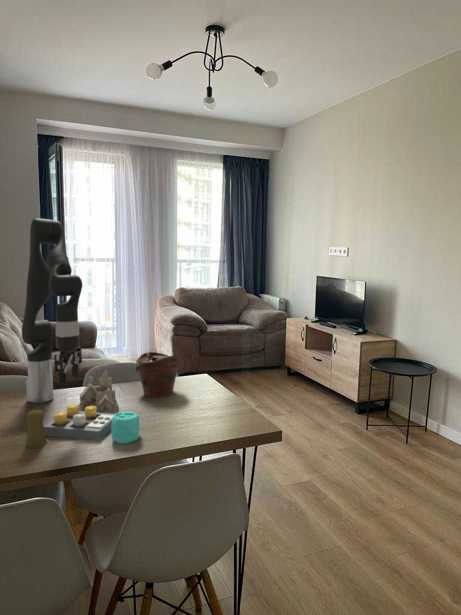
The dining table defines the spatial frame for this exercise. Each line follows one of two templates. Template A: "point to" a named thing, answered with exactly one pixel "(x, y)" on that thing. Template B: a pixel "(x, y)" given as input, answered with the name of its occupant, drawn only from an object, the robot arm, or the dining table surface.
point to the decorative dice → (125, 427)
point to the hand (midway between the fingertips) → (69, 380)
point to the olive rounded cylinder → (35, 429)
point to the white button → (79, 420)
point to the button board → (82, 427)
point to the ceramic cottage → (99, 396)
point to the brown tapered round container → (157, 373)
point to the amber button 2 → (72, 410)
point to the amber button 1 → (60, 418)
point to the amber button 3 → (91, 411)
